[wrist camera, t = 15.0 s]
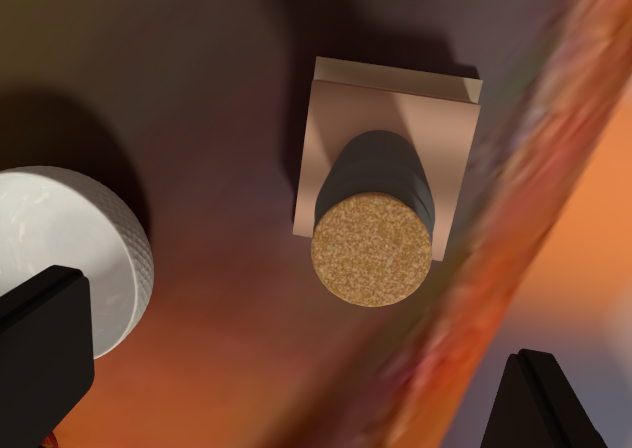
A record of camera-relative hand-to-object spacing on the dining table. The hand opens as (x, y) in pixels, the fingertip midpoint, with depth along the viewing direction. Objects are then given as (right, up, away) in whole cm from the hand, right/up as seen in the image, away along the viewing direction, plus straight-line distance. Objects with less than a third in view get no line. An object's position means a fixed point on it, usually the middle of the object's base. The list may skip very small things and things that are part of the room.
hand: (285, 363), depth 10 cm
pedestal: (+6, +8, +27) cm, 28 cm away
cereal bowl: (-20, +1, +33) cm, 39 cm away
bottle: (+5, +7, +22) cm, 24 cm away
